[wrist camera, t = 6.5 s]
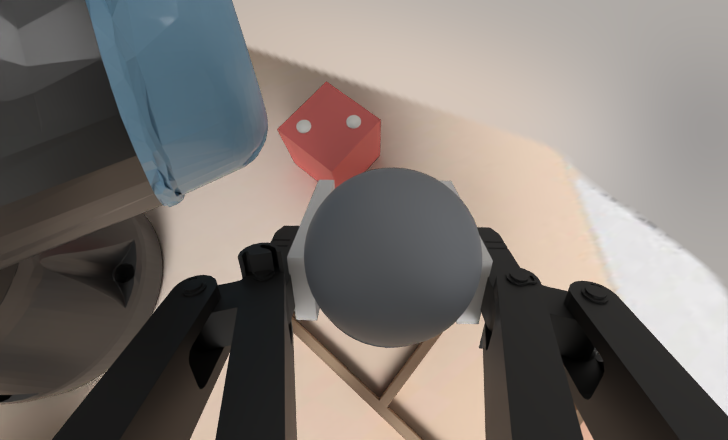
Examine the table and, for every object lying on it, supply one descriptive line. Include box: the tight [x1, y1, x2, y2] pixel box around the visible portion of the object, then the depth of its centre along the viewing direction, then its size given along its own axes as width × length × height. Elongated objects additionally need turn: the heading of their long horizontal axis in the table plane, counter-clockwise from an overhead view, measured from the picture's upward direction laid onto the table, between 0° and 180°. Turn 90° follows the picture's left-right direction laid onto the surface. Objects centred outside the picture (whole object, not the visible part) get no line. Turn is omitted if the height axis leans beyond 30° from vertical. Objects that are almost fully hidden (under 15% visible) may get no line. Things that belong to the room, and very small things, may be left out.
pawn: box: [304, 168, 482, 348], centre depth 13 cm, size 6×6×14 cm
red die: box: [277, 82, 381, 188], centre depth 24 cm, size 5×5×5 cm
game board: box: [291, 316, 594, 440], centre depth 21 cm, size 29×12×1 cm, turn 50°
